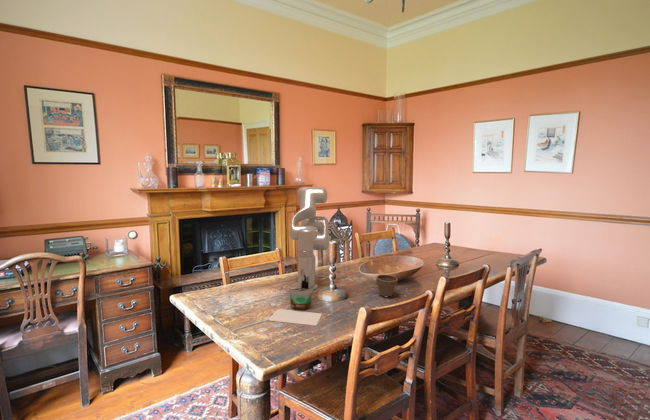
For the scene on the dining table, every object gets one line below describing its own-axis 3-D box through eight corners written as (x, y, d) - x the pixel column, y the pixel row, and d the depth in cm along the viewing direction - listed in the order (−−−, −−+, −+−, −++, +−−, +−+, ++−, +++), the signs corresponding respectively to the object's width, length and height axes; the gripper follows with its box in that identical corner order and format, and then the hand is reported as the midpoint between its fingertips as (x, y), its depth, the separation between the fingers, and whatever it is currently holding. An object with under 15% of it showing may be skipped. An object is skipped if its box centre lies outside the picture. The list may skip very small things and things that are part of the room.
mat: (277, 309, 173) (277, 308, 173) (322, 314, 169) (322, 313, 169) (268, 320, 161) (268, 320, 161) (316, 326, 157) (316, 325, 157)
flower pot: (401, 297, 194) (402, 279, 192) (384, 300, 189) (384, 282, 187) (388, 290, 204) (388, 273, 203) (371, 293, 199) (372, 275, 197)
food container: (290, 312, 171) (290, 292, 170) (288, 307, 177) (288, 287, 175) (315, 310, 174) (315, 290, 173) (312, 305, 180) (312, 286, 179)
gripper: (302, 249, 186) (301, 284, 188) (294, 256, 171) (293, 293, 173) (316, 250, 184) (315, 285, 186) (309, 257, 170) (308, 295, 172)
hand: (304, 289), depth 180 cm, fingers closed
